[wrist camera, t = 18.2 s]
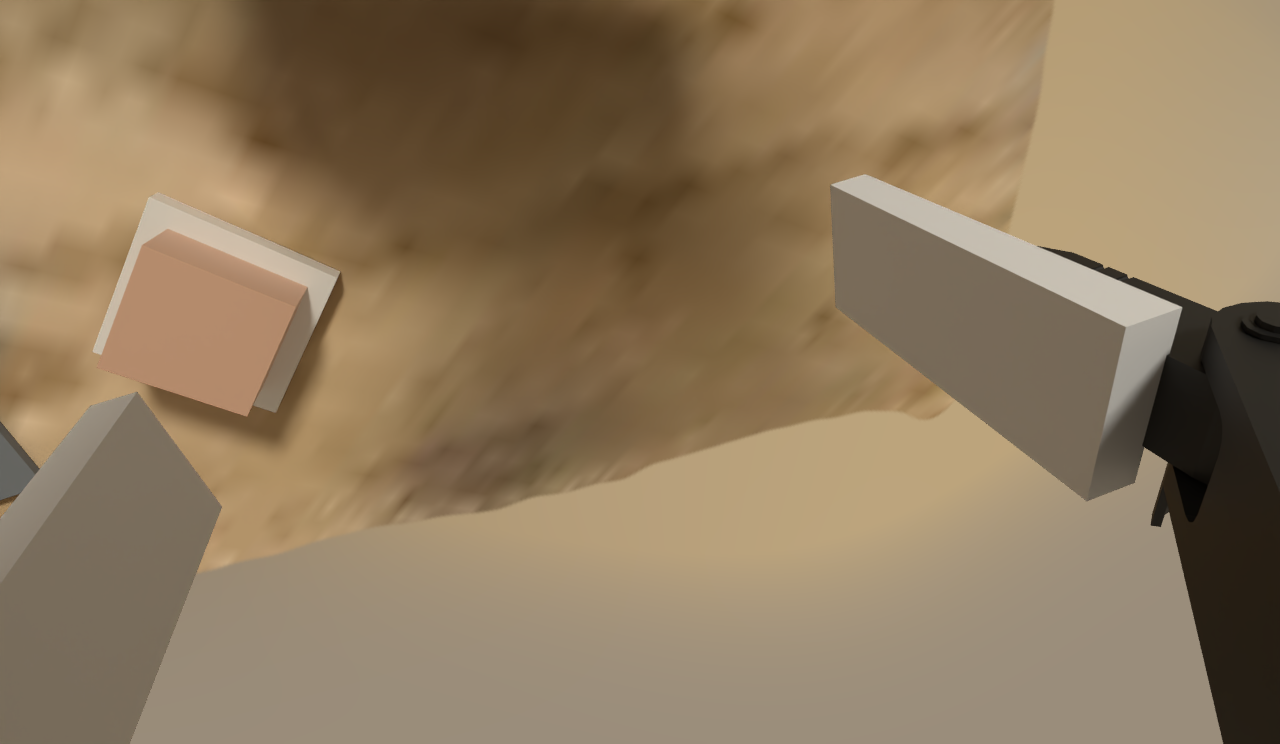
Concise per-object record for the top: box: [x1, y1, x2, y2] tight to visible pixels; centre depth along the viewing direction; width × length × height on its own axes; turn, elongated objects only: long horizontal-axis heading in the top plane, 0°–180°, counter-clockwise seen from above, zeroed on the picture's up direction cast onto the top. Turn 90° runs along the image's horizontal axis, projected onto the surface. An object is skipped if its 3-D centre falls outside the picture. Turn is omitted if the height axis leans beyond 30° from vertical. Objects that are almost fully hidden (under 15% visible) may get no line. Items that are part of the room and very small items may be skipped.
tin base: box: [93, 192, 340, 417], centre depth 42 cm, size 11×11×6 cm
